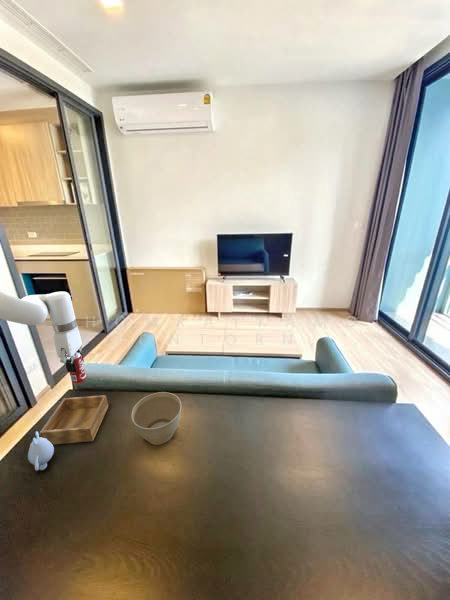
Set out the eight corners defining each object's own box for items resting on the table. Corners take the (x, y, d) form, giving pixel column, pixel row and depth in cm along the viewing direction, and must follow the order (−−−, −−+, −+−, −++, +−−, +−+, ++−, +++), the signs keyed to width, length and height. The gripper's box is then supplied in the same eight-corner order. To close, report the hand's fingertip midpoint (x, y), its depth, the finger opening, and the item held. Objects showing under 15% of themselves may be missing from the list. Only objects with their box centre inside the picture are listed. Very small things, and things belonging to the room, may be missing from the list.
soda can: (83, 374, 104) (76, 350, 99) (89, 379, 101) (83, 354, 96) (69, 381, 100) (62, 356, 95) (76, 386, 97) (69, 360, 93)
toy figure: (38, 452, 80) (27, 424, 76) (60, 446, 82) (51, 418, 78) (27, 485, 71) (14, 454, 67) (53, 476, 73) (42, 447, 69)
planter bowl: (186, 414, 94) (184, 391, 91) (180, 453, 79) (177, 427, 75) (143, 415, 94) (139, 392, 90) (129, 455, 79) (124, 429, 75)
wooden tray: (44, 445, 83) (39, 432, 81) (67, 409, 97) (63, 398, 95) (92, 440, 84) (89, 428, 82) (108, 406, 98) (106, 395, 96)
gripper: (66, 316, 99) (76, 355, 105) (40, 337, 83) (54, 381, 90) (85, 315, 100) (94, 354, 106) (64, 336, 84) (76, 380, 90)
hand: (75, 366), depth 98 cm, fingers closed on soda can, 5 cm apart
